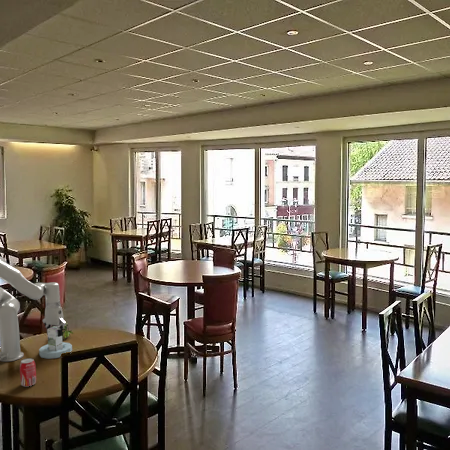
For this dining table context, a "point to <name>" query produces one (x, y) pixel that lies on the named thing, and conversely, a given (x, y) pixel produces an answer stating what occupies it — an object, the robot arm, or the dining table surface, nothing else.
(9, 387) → the dining table surface
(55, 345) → the syrup box
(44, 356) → the pale blue ring
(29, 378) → the soda can
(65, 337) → the passion flower
